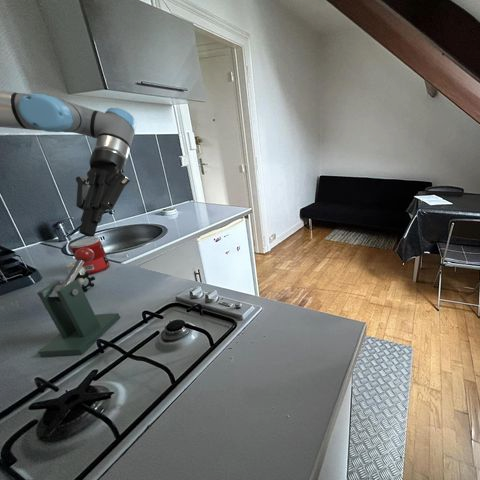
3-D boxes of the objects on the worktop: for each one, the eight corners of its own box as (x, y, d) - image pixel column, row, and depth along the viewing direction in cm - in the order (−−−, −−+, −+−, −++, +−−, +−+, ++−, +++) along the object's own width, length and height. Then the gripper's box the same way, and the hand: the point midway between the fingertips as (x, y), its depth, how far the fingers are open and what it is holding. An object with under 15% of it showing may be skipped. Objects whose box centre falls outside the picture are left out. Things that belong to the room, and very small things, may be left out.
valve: (67, 283, 86) (71, 296, 78) (58, 265, 83) (62, 277, 75) (92, 275, 90) (99, 287, 82) (85, 258, 87) (90, 268, 80)
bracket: (85, 319, 67) (62, 273, 62) (120, 317, 67) (99, 271, 62) (40, 357, 56) (7, 304, 51) (82, 354, 56) (53, 301, 51)
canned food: (114, 266, 95) (102, 239, 91) (87, 277, 89) (74, 247, 85) (105, 262, 99) (94, 235, 95) (79, 271, 93) (65, 243, 89)
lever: (86, 253, 66) (75, 245, 63) (100, 252, 66) (90, 244, 63) (57, 302, 58) (42, 295, 55) (73, 301, 58) (59, 294, 55)
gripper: (142, 164, 76) (124, 238, 67) (97, 167, 76) (73, 241, 67) (123, 146, 69) (100, 226, 60) (74, 149, 69) (44, 229, 60)
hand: (86, 234), depth 64 cm, fingers closed
